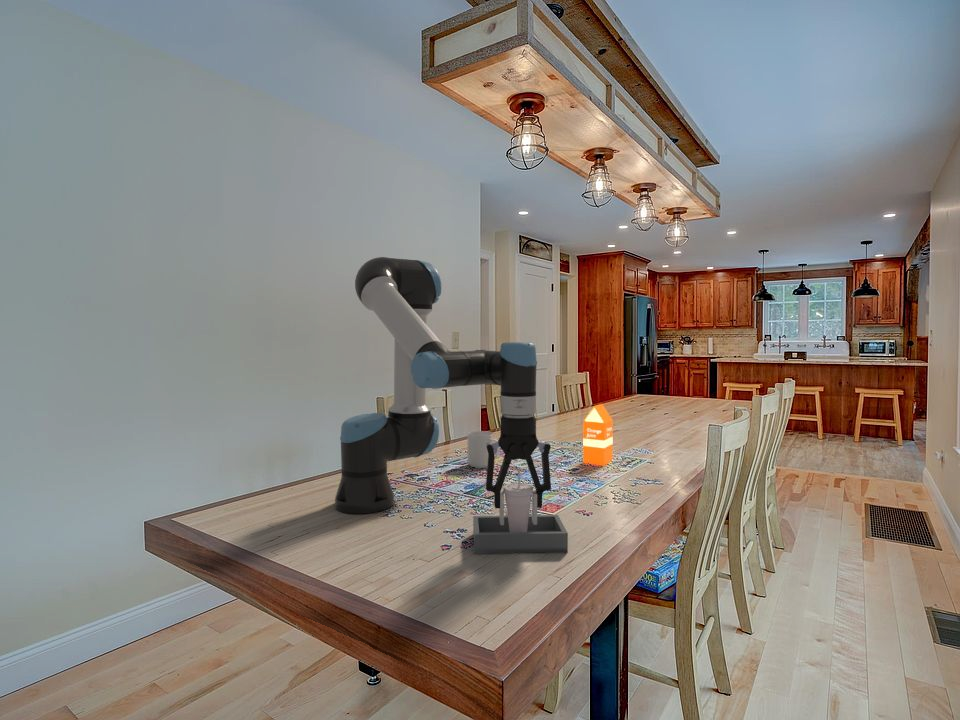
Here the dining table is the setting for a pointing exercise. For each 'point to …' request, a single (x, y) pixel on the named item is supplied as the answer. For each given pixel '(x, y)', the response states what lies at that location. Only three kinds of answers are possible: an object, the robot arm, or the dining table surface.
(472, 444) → the mug
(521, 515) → the smoothie
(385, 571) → the dining table surface
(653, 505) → the dining table surface
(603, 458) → the orange juice
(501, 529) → the tray
